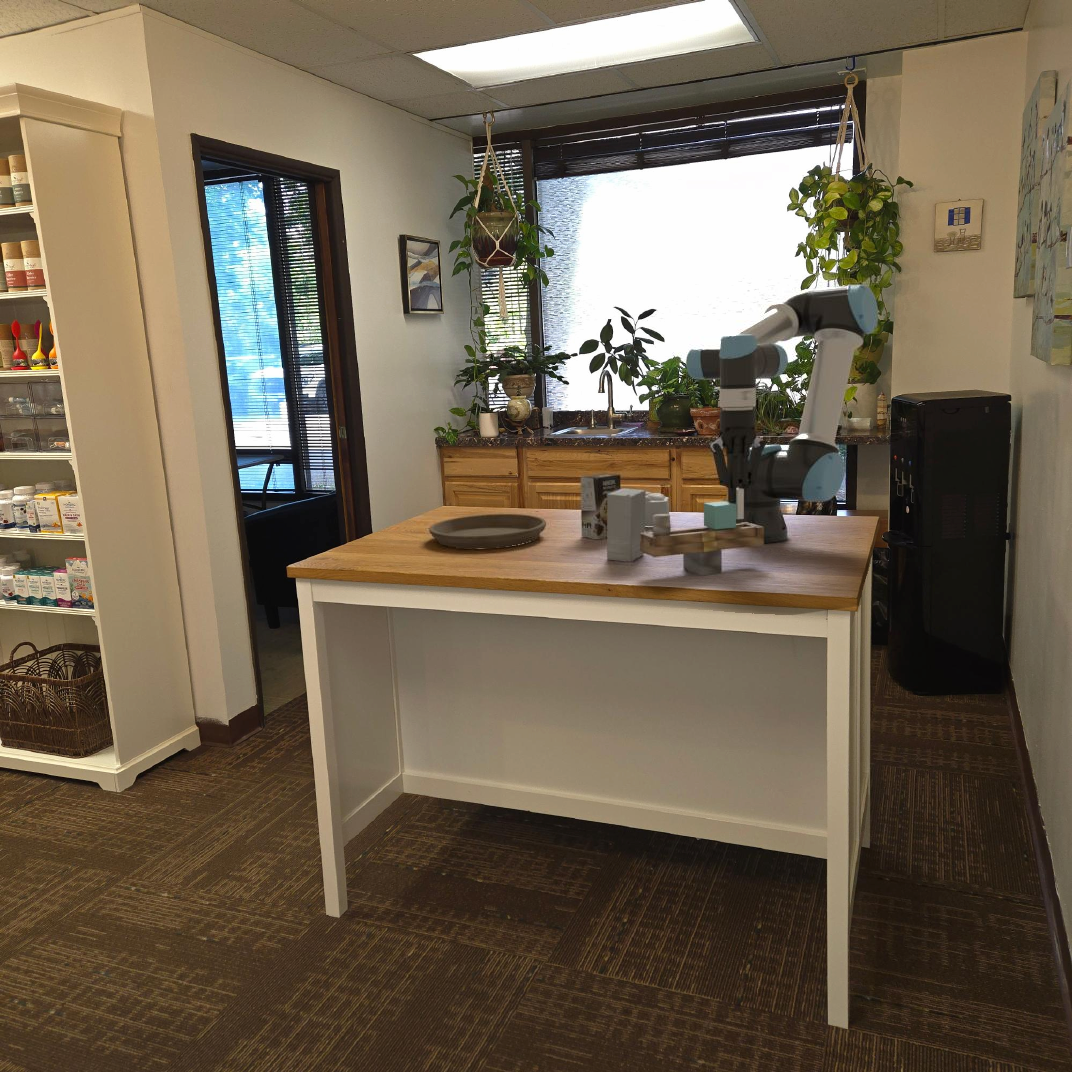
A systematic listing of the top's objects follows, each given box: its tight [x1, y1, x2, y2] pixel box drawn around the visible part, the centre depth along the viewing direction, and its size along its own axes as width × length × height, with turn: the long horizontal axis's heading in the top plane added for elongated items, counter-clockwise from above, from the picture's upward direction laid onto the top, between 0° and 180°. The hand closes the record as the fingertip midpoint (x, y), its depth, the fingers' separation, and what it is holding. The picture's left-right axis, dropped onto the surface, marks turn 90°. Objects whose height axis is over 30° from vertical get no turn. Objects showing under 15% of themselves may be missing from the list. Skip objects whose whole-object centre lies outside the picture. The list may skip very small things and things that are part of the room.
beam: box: [640, 514, 765, 577], centre depth 202 cm, size 26×8×13 cm, turn 108°
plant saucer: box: [428, 513, 547, 549], centre depth 248 cm, size 31×31×5 cm
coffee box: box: [580, 473, 622, 540], centre depth 245 cm, size 9×6×16 cm
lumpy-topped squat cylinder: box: [645, 491, 670, 526], centre depth 260 cm, size 10×13×9 cm
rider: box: [703, 500, 736, 531], centre depth 202 cm, size 5×5×7 cm
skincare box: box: [606, 487, 647, 563], centre depth 217 cm, size 8×7×16 cm
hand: (737, 518), depth 203 cm, fingers closed
